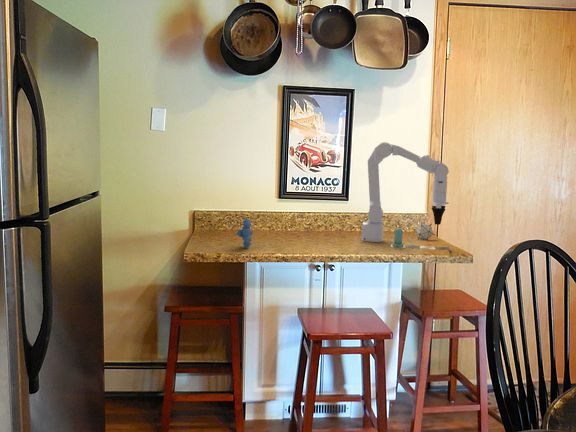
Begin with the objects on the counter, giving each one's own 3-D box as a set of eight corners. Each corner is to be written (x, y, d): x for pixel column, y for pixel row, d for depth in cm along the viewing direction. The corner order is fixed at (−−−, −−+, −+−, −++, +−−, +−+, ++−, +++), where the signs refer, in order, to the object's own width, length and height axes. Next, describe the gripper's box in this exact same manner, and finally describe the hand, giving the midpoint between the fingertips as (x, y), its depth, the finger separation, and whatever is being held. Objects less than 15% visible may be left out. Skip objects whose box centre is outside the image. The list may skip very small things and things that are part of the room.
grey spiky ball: (423, 249, 242) (416, 233, 236) (414, 239, 249) (408, 224, 243) (440, 239, 241) (434, 223, 236) (431, 230, 249) (425, 214, 243)
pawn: (392, 246, 221) (393, 228, 220) (392, 244, 225) (393, 226, 224) (403, 247, 220) (404, 229, 219) (403, 245, 224) (404, 227, 223)
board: (390, 250, 218) (390, 247, 218) (390, 245, 228) (390, 243, 228) (451, 253, 214) (451, 250, 214) (448, 248, 224) (448, 246, 224)
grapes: (236, 244, 224) (236, 216, 223) (252, 244, 225) (252, 216, 223) (236, 250, 213) (236, 220, 211) (253, 250, 213) (253, 220, 212)
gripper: (449, 193, 218) (447, 226, 220) (449, 190, 232) (447, 221, 234) (431, 192, 220) (429, 225, 222) (432, 190, 234) (430, 220, 236)
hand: (437, 223), depth 228 cm, fingers open, 7 cm apart
